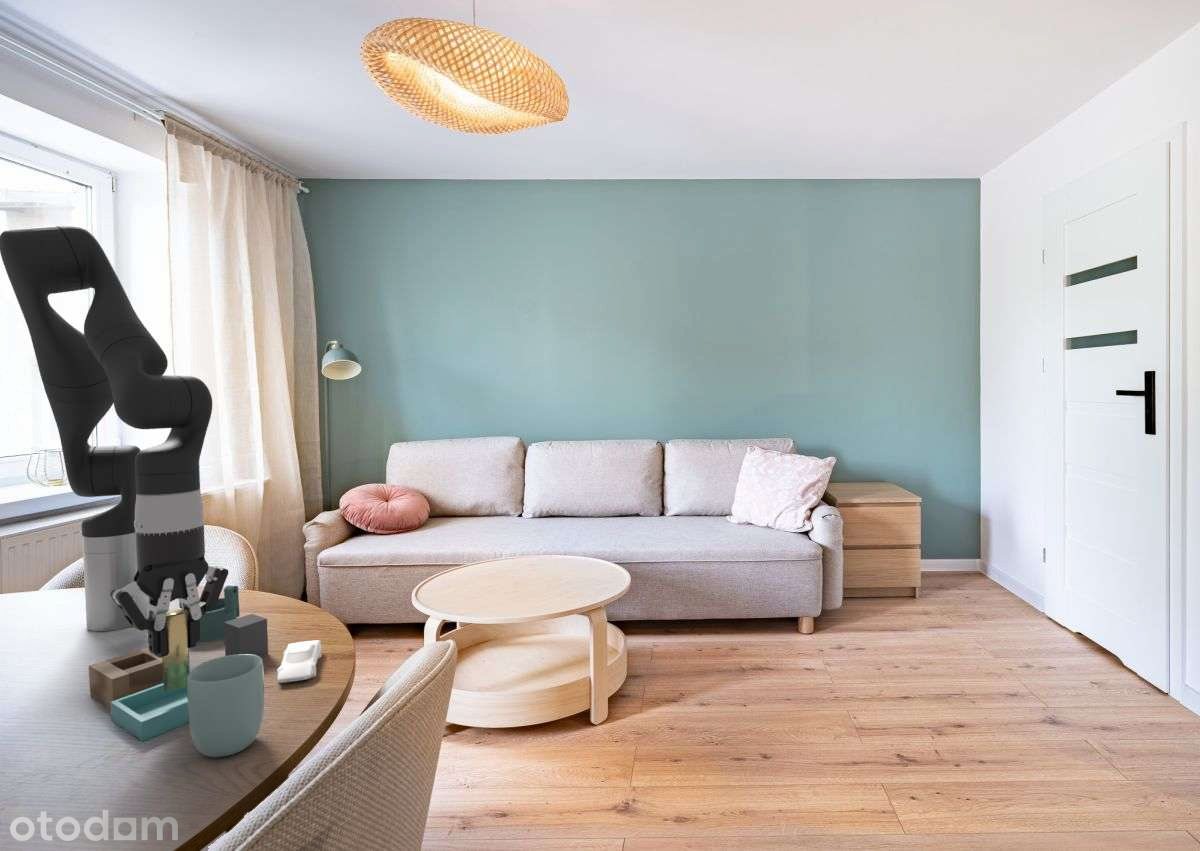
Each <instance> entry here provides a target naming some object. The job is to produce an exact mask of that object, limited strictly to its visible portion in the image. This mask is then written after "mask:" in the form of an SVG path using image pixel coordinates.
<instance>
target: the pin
mask: <svg viewBox="0 0 1200 851" xmlns="http://www.w3.org/2000/svg"><path fill="white" fill-rule="evenodd" d="M164 629H166V641H167V656H164V657H162V666H163V689H164V690H166V691H174V690H178V689H182V688H184V687H186V686H187V679H188V675H189V673H190V672H191V668H190V667H191V666H190V663H191V662H190V648H189V637H188V612H187V610H185V609H181V608H179V609H172V610H169V611H168V612H167V613H166V619H165V626H164Z"/></svg>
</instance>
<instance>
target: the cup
mask: <svg viewBox="0 0 1200 851" xmlns="http://www.w3.org/2000/svg"><path fill="white" fill-rule="evenodd" d="M187 700H188V718H189V722H188V724H189V725H188V726H189V733H190V736H191V741H192V743H193V746H194V747H195V749H196V751H198V752H199V753H200V754H202V755H203V756H205V757H210V758H224V757H229V756H233V755H235V754H238V753H240V752H242V751H244V750H245V749H247V748H248V747H249V746H251V745H252V743H253V742H254V741H255V740H256V738H257V737H258V735H259V733H260V730H261V729H262V725H263V719H264V713H265V675H264V662H263V658H262V657H259V656H257V655H250V654H238V655H229V656H225V655H224V656H220V657H216V658H212V659H210V660H207V661H204V662H202V663H200V664H198V665H197V666H195V667H194V668H192V670H190V673H189V675H188V679H187Z"/></svg>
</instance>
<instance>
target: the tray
mask: <svg viewBox="0 0 1200 851" xmlns="http://www.w3.org/2000/svg"><path fill="white" fill-rule="evenodd" d="M110 703H111V709H110V718H111V719H110V720H111V722H113V723H114V724H116V725H117V726H119V727H120V728H122V729H123V730H125V731H126V732H127V733H129V734H130V735H132V736H134V737H135V738H136V739H138V740H140V742H145V741H147V740H150V739H152V738H154V737H156V736H160V735H161V734H164V733H166V732H169V731H172V730H173V729H176V728H178V727H181V726H183V725H186V724H187V723H188V724H189V718H188V700H187V686H186V687H184V688H182V689H178V690H174V691H166V690H164V689H163V683H162V684H159V685H157V686H154V687H151V688H148V689H145V690H143V691H140V692H137V693H134V694H131V695H129V696H126V697H123V698H120V699H117V700H114V701H112V702H110Z"/></svg>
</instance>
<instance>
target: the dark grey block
mask: <svg viewBox="0 0 1200 851" xmlns="http://www.w3.org/2000/svg"><path fill="white" fill-rule="evenodd" d="M224 633H225V637H224V650H225V652H224V654H225V655H224V656H229V655H238V654H250V655H257V656H259V657H260V658H262V657H265V656H267V655H269V639H268V637H269V636H268V634H269V633H268V618H266V617H263V616H260V615H257V614H255V613H250V614H246V615H244V616H243V615H242V616H239V617H237V618H236V619H233V620H230V621H226V622H224Z"/></svg>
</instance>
